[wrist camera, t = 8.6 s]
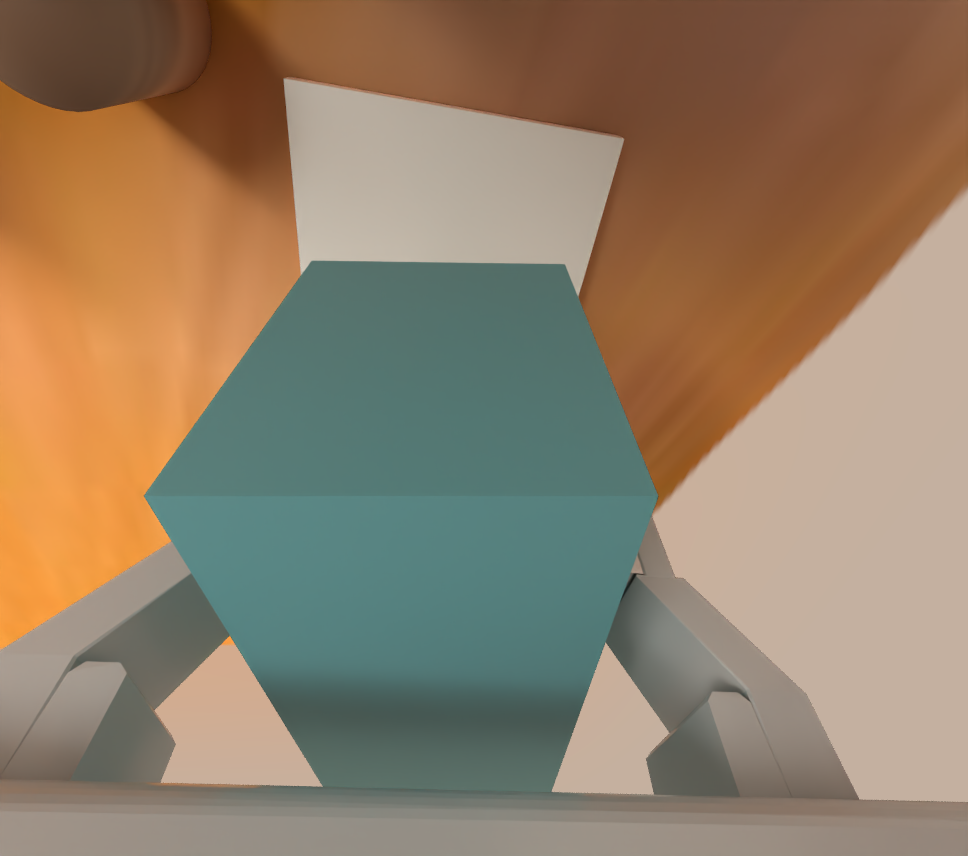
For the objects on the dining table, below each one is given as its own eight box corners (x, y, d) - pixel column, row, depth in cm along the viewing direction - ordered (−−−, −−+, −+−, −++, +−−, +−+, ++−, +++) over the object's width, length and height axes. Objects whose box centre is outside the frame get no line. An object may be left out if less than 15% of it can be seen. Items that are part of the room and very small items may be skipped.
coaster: (313, 368, 20) (310, 375, 20) (289, 76, 14) (283, 78, 14) (545, 393, 21) (547, 401, 21) (619, 135, 15) (624, 138, 15)
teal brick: (311, 260, 8) (144, 496, 4) (564, 264, 8) (659, 496, 4) (373, 564, 13) (330, 798, 9) (526, 563, 13) (549, 794, 9)
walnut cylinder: (78, 80, 14) (-32, 95, 11) (15, -125, 11) (-151, -182, 8) (224, 105, 14) (158, 125, 11) (193, -87, 12) (98, -128, 9)
